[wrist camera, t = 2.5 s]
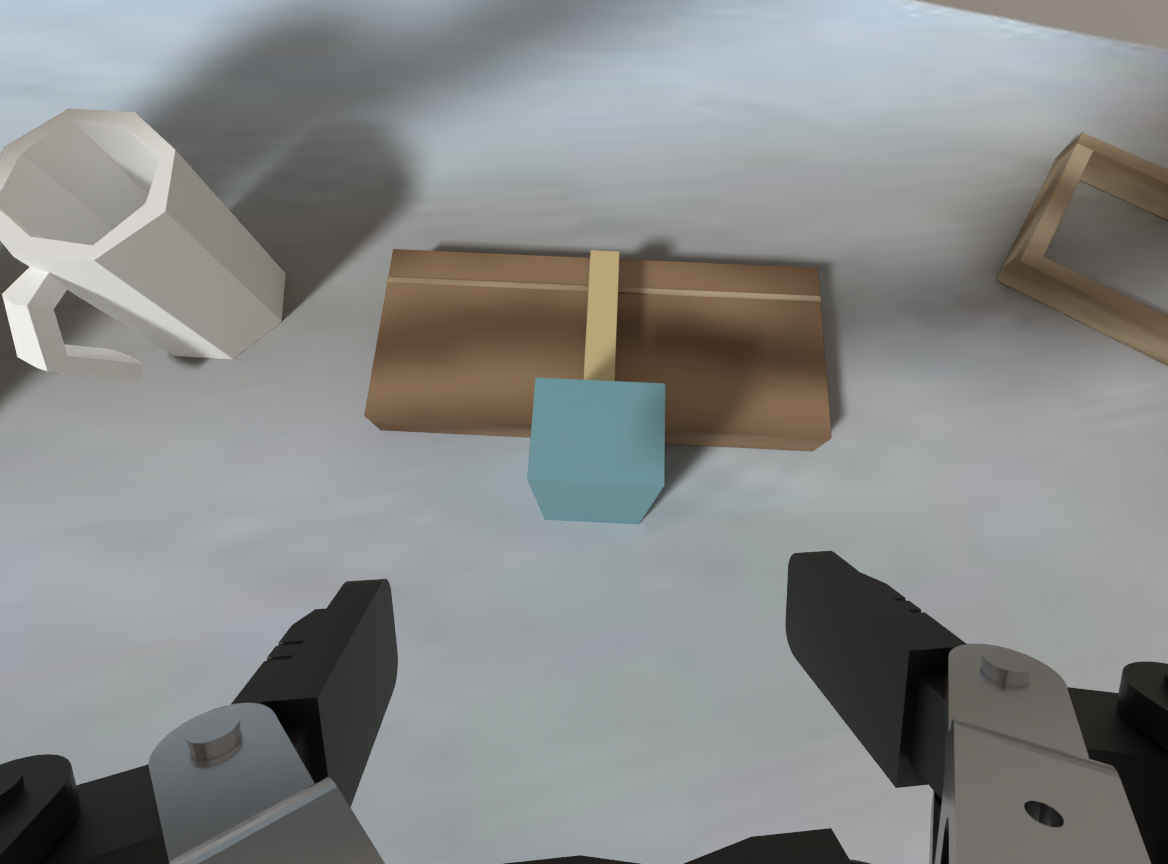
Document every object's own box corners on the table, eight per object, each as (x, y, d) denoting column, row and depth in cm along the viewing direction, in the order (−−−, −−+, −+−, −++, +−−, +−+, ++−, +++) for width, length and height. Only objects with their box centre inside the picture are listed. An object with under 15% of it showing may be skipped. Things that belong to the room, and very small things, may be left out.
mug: (198, 221, 36) (61, 84, 26) (316, 268, 35) (217, 143, 25) (76, 384, 33) (-129, 294, 23) (203, 441, 32) (42, 371, 22)
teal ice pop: (638, 524, 30) (664, 485, 21) (544, 519, 30) (527, 478, 21) (643, 299, 34) (666, 180, 25) (560, 295, 34) (552, 175, 25)
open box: (812, 451, 31) (832, 437, 29) (380, 430, 32) (363, 415, 29) (801, 291, 34) (818, 266, 32) (406, 273, 35) (392, 248, 32)
